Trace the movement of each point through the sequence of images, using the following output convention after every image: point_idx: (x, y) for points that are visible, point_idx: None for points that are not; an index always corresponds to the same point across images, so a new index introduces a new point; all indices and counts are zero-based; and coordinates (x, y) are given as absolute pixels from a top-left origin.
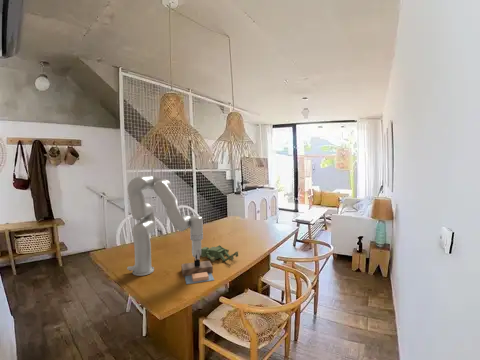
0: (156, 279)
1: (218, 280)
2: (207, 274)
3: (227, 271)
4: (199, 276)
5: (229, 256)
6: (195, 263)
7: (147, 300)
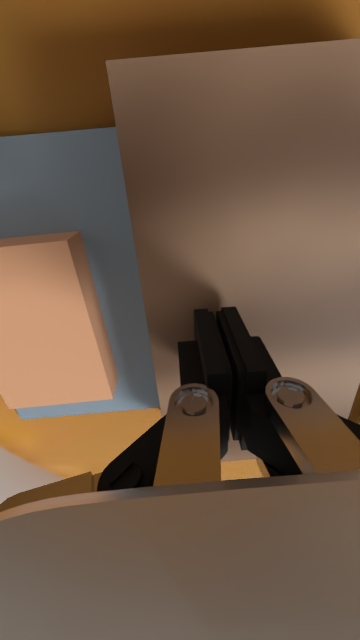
0: None
1: (22, 437)
2: (49, 402)
3: None
4: None
5: None
6: (199, 346)
7: None
